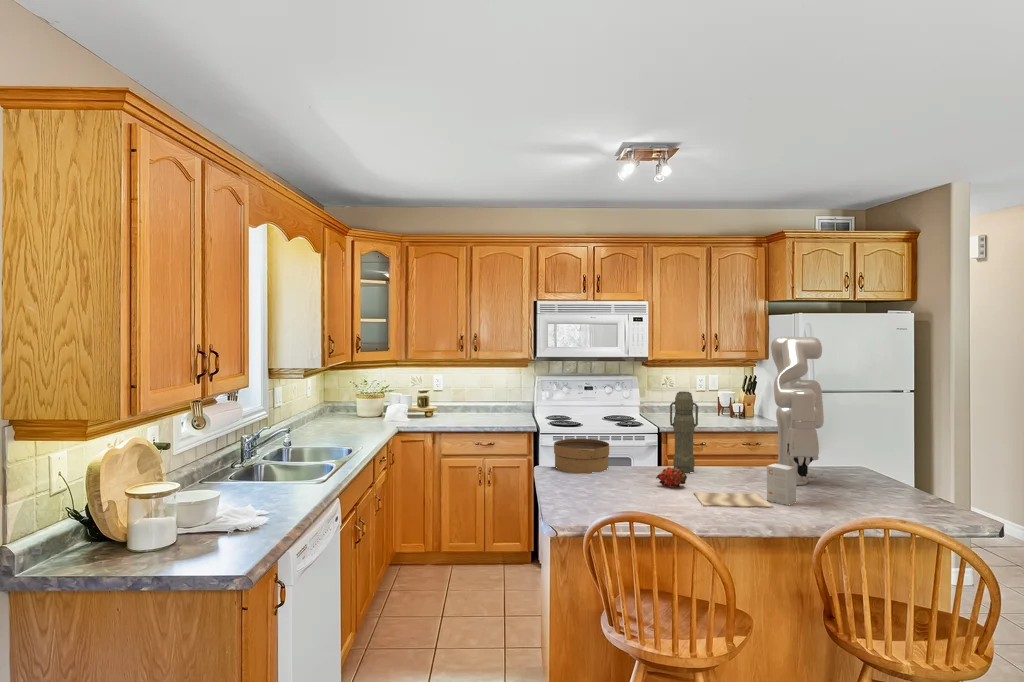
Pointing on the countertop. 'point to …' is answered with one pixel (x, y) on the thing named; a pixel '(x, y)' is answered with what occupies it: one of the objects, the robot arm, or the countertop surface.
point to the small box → (781, 484)
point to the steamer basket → (581, 455)
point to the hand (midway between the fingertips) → (802, 475)
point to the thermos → (684, 431)
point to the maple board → (732, 499)
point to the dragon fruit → (672, 477)
